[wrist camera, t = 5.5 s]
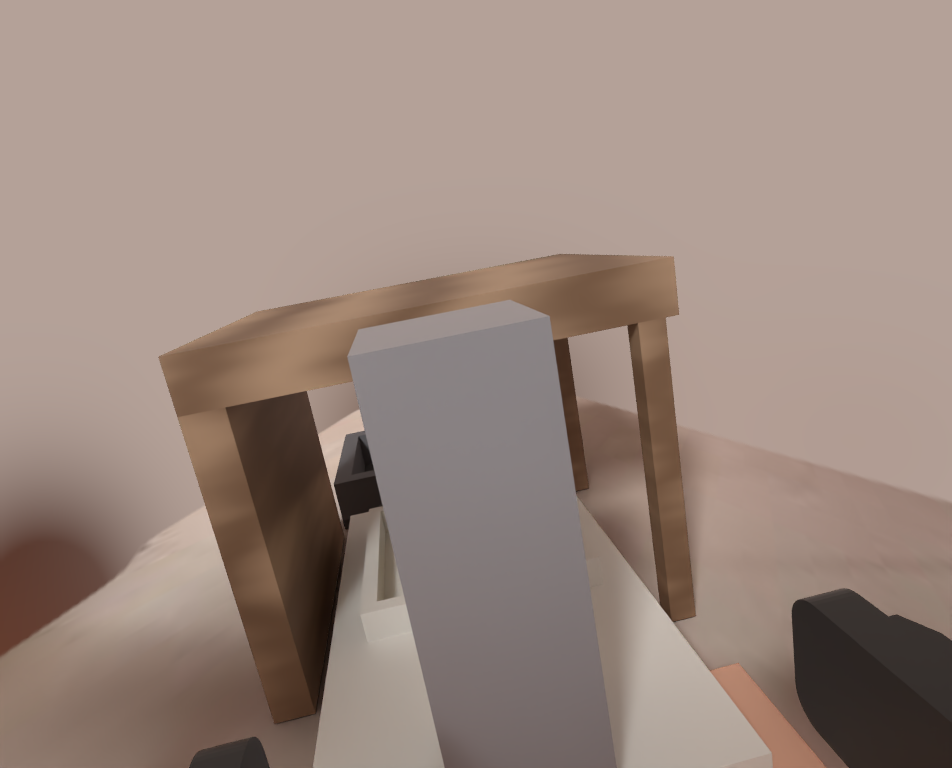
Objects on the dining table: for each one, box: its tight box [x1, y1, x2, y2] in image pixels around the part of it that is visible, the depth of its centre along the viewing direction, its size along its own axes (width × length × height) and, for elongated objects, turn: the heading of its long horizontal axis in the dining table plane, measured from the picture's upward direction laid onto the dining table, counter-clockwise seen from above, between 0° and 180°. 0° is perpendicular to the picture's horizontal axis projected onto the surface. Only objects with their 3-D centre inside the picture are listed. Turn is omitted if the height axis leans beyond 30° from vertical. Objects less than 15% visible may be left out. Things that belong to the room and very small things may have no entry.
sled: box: [313, 300, 773, 768], centre depth 23 cm, size 12×20×14 cm, turn 8°
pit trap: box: [334, 431, 383, 529], centre depth 42 cm, size 14×10×3 cm
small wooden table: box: [159, 254, 696, 724], centre depth 28 cm, size 17×14×14 cm
